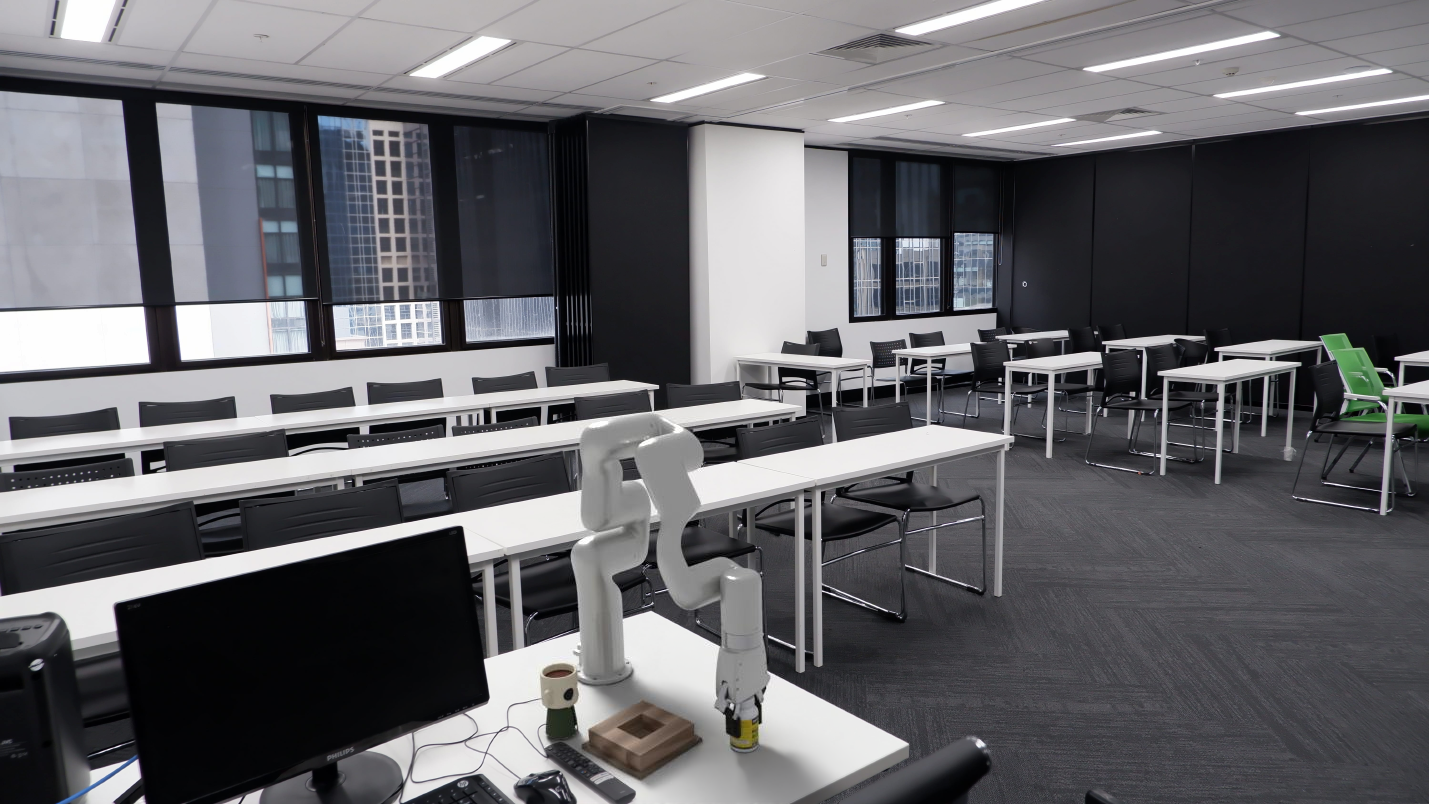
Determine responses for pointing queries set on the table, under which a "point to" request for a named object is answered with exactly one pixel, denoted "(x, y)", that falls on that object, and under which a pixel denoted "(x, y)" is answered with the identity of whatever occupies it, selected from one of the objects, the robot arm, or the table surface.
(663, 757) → the bottle holder
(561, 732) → the character mug
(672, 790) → the table surface
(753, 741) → the supplement bottle
